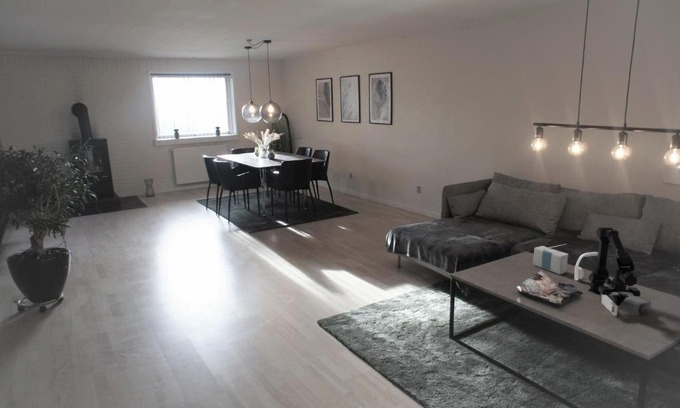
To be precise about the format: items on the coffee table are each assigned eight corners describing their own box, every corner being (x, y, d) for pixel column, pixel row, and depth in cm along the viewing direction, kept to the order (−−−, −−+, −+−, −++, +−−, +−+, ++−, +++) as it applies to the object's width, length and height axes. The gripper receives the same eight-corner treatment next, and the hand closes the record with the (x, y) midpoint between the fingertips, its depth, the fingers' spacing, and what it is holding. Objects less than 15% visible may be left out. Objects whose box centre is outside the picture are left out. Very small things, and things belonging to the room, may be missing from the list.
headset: (578, 283, 284) (581, 255, 280) (570, 278, 291) (573, 251, 287) (606, 280, 288) (609, 252, 284) (598, 275, 294) (601, 249, 290)
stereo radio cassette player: (532, 265, 314) (534, 237, 309) (540, 263, 318) (543, 235, 313) (559, 275, 296) (562, 245, 291) (567, 273, 300) (570, 243, 295)
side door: (598, 301, 257) (599, 292, 256) (602, 301, 257) (603, 292, 255) (612, 315, 240) (614, 306, 239) (616, 316, 240) (618, 306, 239)
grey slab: (599, 301, 258) (601, 289, 257) (614, 297, 263) (616, 286, 261) (636, 317, 239) (638, 304, 238) (652, 312, 244) (653, 300, 242)
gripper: (632, 273, 248) (628, 300, 251) (595, 272, 250) (592, 299, 254) (643, 281, 237) (639, 309, 241) (604, 280, 240) (601, 307, 243)
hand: (617, 306), depth 245 cm, fingers closed
